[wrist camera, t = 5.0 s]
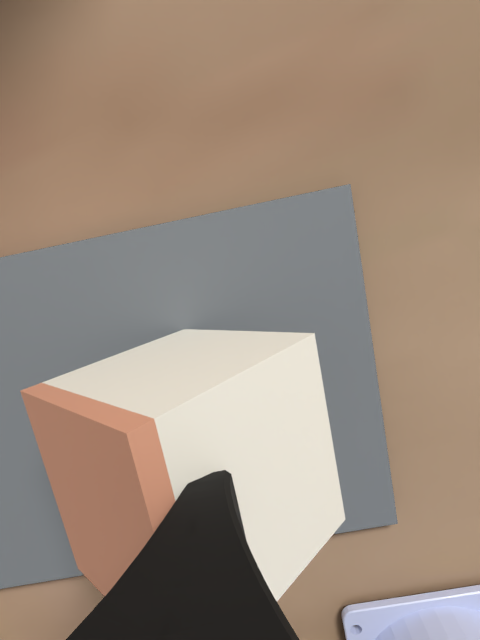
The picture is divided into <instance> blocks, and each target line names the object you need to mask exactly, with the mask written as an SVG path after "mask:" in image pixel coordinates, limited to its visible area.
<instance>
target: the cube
mask: <svg viewBox="0 0 480 640" xmlns="http://www.w3.org/2000/svg"><path fill="white" fill-rule="evenodd" d="M20 392H21V395H22V398H23V401H24V404H25V407H26V411H27V414H28V417H29V420H30V423H31V426H32V429H33V432H34V435H35V438H36V441H37V444H38V447H39V450H40V454H41V457H42V460H43V463H44V466H45V469H46V472H47V475H48V478H49V481H50V484H51V487H52V490H53V494H54V497H55V500H56V503H57V506H58V509H59V512H60V515H61V518H62V521H63V524H64V527H65V530H66V534H67V537H68V540H69V543H70V546H71V549H72V552H73V555H74V558H75V561H76V564H77V567H78V569H79V570H80V571H81V572H82V573H83V574H84V575H85V576H86V577H87V579H88V580H89V581H90V582H91V583H92V584H93V585H94V586H95V587H96V588H97V589H98V590H99V591H100V592H101V593H102V594H103V595H104V596H106V595H107V593H108V592H109V591H110V590H111V589H112V587H113V586H114V585H115V584H116V582H117V581H118V580H119V579H120V577H121V576H122V575H123V573H124V572H125V571H126V570H127V568H128V567H129V566H130V564H131V563H132V562H133V561H134V559H135V558H136V557H137V555H138V554H139V553H140V552H141V550H142V549H143V547H144V546H145V545H146V543H147V542H148V540H149V539H150V538H151V536H152V535H153V533H154V532H155V531H156V529H157V528H158V526H159V525H160V523H161V522H162V521H163V519H164V518H165V516H166V515H167V513H168V512H169V510H170V509H171V507H172V506H173V504H174V503H175V501H176V500H177V498H178V497H179V495H180V494H181V492H182V491H183V490H184V488H185V487H186V485H187V484H188V483H190V482H192V481H194V480H197V479H199V478H202V477H204V476H206V475H208V474H210V473H213V472H217V471H222V470H226V471H228V472H229V473H231V475H232V479H233V484H234V488H235V492H236V497H237V501H238V505H239V510H240V514H241V519H242V523H243V527H244V532H245V536H246V540H247V543H248V546H249V548H250V550H251V552H252V555H253V557H254V559H255V561H256V563H257V565H258V567H259V570H260V571H261V573H262V575H263V577H264V579H265V581H266V583H267V585H268V587H269V589H270V591H271V593H272V594H273V596H274V598H275V600H276V601H278V600H279V598H280V597H281V596H282V595H283V594H284V592H285V591H286V590H287V589H288V588H289V586H290V585H291V584H292V583H293V582H294V580H295V579H296V578H297V577H298V576H299V574H300V573H301V572H302V571H303V570H304V568H305V567H306V566H307V565H308V564H309V562H310V561H311V560H312V559H313V558H314V556H315V555H316V554H317V553H318V552H319V551H320V549H321V548H322V547H323V546H324V545H325V543H326V542H327V541H328V540H329V539H330V537H331V536H332V535H333V534H334V533H335V531H336V530H337V529H338V528H339V527H340V525H341V524H342V523H343V522H344V521H345V513H344V507H343V501H342V495H341V489H340V483H339V477H338V471H337V465H336V459H335V453H334V447H333V441H332V435H331V429H330V423H329V417H328V411H327V405H326V399H325V393H324V387H323V381H322V375H321V369H320V363H319V357H318V351H317V345H316V339H315V333H294V332H262V331H229V330H197V329H183V330H181V331H178V332H175V333H173V334H170V335H167V336H165V337H162V338H159V339H157V340H154V341H151V342H149V343H146V344H143V345H141V346H138V347H135V348H133V349H130V350H127V351H125V352H122V353H119V354H117V355H114V356H111V357H109V358H106V359H103V360H101V361H98V362H95V363H93V364H90V365H87V366H85V367H82V368H79V369H77V370H74V371H71V372H69V373H66V374H63V375H61V376H58V377H55V378H53V379H50V380H47V381H45V382H42V383H39V384H37V385H34V386H31V387H29V388H26V389H23V390H21V391H20Z"/></svg>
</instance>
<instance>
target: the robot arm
mask: <svg viewBox="0 0 480 640" xmlns="http://www.w3.org/2000/svg"><path fill="white" fill-rule="evenodd" d="M342 621H343V626H344V632H345V637H346V640H480V585H475V586H468V587H462V588H456V589H449V590H443V591H436V592H430V593H423V594H417V595H410V596H404V597H397V598H391V599H384V600H378V601H371V602H365V603H358V604H352V605H348V606H346V607H345V608H344V609H343V611H342ZM354 625H357V626H354ZM66 640H299V638H298V637H297V635H296V633H295V632H294V630H293V628H292V627H291V625H290V624H289V622H288V620H287V619H286V617H285V615H284V614H283V612H282V610H281V609H280V607H279V605H278V603H277V601H276V600H275V598H274V596H273V594H272V593H271V591H270V589H269V587H268V585H267V583H266V581H265V579H264V577H263V575H262V573H261V571H260V570H259V567H258V565H257V563H256V561H255V559H254V557H253V555H252V552H251V550H250V548H249V546H248V543H247V540H246V536H245V532H244V527H243V523H242V519H241V514H240V510H239V505H238V501H237V497H236V492H235V488H234V484H233V479H232V475H231V473H229V472H228V471H226V470H222V471H217V472H213V473H210V474H208V475H206V476H204V477H202V478H199V479H197V480H194V481H192V482H190V483H188V484H187V485H186V487H185V488H184V490H183V491H182V492H181V494H180V495H179V497H178V498H177V500H176V501H175V503H174V504H173V506H172V507H171V509H170V510H169V512H168V513H167V515H166V516H165V518H164V519H163V521H162V522H161V523H160V525H159V526H158V528H157V529H156V531H155V532H154V533H153V535H152V536H151V538H150V539H149V540H148V542H147V543H146V545H145V546H144V547H143V549H142V550H141V552H140V553H139V554H138V555H137V557H136V558H135V559H134V561H133V562H132V563H131V564H130V566H129V567H128V568H127V570H126V571H125V572H124V573H123V575H122V576H121V577H120V579H119V580H118V581H117V582H116V584H115V585H114V586H113V587H112V589H111V590H110V591H109V592H108V593H107V595H106V596H105V597H104V598H103V599H102V600H101V602H100V603H99V604H98V605H97V606H96V607H95V608H94V610H93V611H92V612H91V613H90V614H89V615H88V616H87V617H86V618H85V619H84V621H83V622H82V623H81V624H80V625H79V626H78V627H77V628H76V629H75V630H74V631H73V633H72V634H71V635H70V636H69V637H68V638H67V639H66Z"/></svg>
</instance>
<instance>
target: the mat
mask: <svg viewBox="0 0 480 640" xmlns="http://www.w3.org/2000/svg"><path fill="white" fill-rule="evenodd" d="M183 329H197V330H229V331H262V332H294V333H315V339H316V345H317V351H318V357H319V363H320V369H321V375H322V381H323V387H324V393H325V399H326V405H327V411H328V417H329V423H330V429H331V435H332V441H333V447H334V453H335V459H336V465H337V471H338V477H339V483H340V489H341V495H342V501H343V507H344V513H345V521H344V522H343V523H342V524H341V525H340V527H339V528H338V529H337V530H336V531H335V533H334V534H338V533H344V532H350V531H356V530H362V529H368V528H374V527H380V526H386V525H393V524H398V523H397V515H396V508H395V501H394V494H393V487H392V480H391V472H390V465H389V458H388V451H387V444H386V436H385V429H384V422H383V415H382V408H381V401H380V393H379V386H378V379H377V372H376V365H375V358H374V350H373V343H372V336H371V329H370V322H369V314H368V307H367V300H366V293H365V286H364V279H363V271H362V264H361V257H360V250H359V243H358V236H357V228H356V221H355V214H354V207H353V200H352V192H351V185H350V184H348V185H344V186H339V187H334V188H329V189H325V190H320V191H315V192H310V193H306V194H301V195H296V196H291V197H287V198H282V199H277V200H272V201H267V202H263V203H258V204H253V205H248V206H244V207H239V208H234V209H229V210H225V211H220V212H215V213H210V214H206V215H201V216H196V217H191V218H186V219H182V220H177V221H172V222H167V223H163V224H158V225H153V226H148V227H144V228H139V229H134V230H129V231H125V232H120V233H115V234H110V235H105V236H101V237H96V238H91V239H86V240H82V241H77V242H72V243H67V244H63V245H58V246H53V247H48V248H44V249H39V250H34V251H29V252H24V253H20V254H15V255H10V256H5V257H1V258H0V589H2V588H8V587H15V586H21V585H27V584H33V583H39V582H45V581H51V580H57V579H63V578H69V577H75V576H82V575H84V574H83V573H82V572H81V571H80V570H79V569H78V567H77V564H76V561H75V558H74V555H73V552H72V549H71V546H70V543H69V540H68V537H67V534H66V530H65V527H64V524H63V521H62V518H61V515H60V512H59V509H58V506H57V503H56V500H55V497H54V494H53V490H52V487H51V484H50V481H49V478H48V475H47V472H46V469H45V466H44V463H43V460H42V457H41V454H40V450H39V447H38V444H37V441H36V438H35V435H34V432H33V429H32V426H31V423H30V420H29V417H28V414H27V411H26V407H25V404H24V401H23V398H22V395H21V392H20V391H21V390H23V389H26V388H29V387H31V386H34V385H37V384H39V383H42V382H45V381H47V380H50V379H53V378H55V377H58V376H61V375H63V374H66V373H69V372H71V371H74V370H77V369H79V368H82V367H85V366H87V365H90V364H93V363H95V362H98V361H101V360H103V359H106V358H109V357H111V356H114V355H117V354H119V353H122V352H125V351H127V350H130V349H133V348H135V347H138V346H141V345H143V344H146V343H149V342H151V341H154V340H157V339H159V338H162V337H165V336H167V335H170V334H173V333H175V332H178V331H181V330H183Z"/></svg>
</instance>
